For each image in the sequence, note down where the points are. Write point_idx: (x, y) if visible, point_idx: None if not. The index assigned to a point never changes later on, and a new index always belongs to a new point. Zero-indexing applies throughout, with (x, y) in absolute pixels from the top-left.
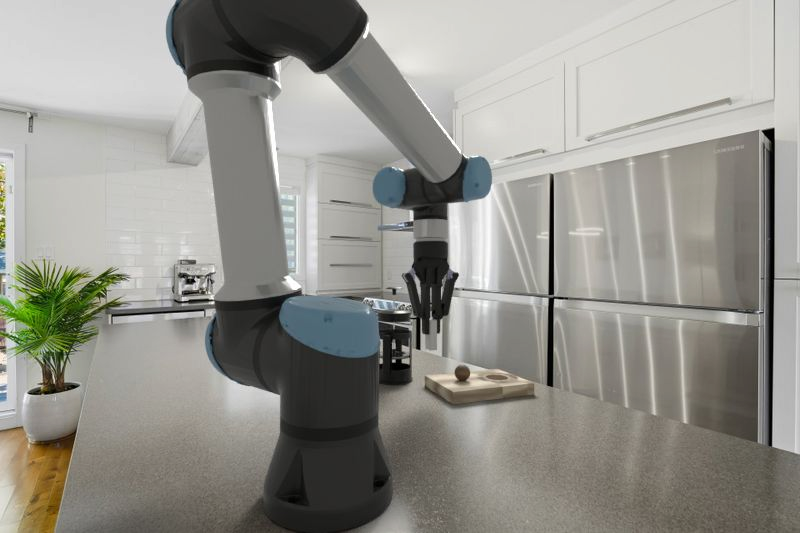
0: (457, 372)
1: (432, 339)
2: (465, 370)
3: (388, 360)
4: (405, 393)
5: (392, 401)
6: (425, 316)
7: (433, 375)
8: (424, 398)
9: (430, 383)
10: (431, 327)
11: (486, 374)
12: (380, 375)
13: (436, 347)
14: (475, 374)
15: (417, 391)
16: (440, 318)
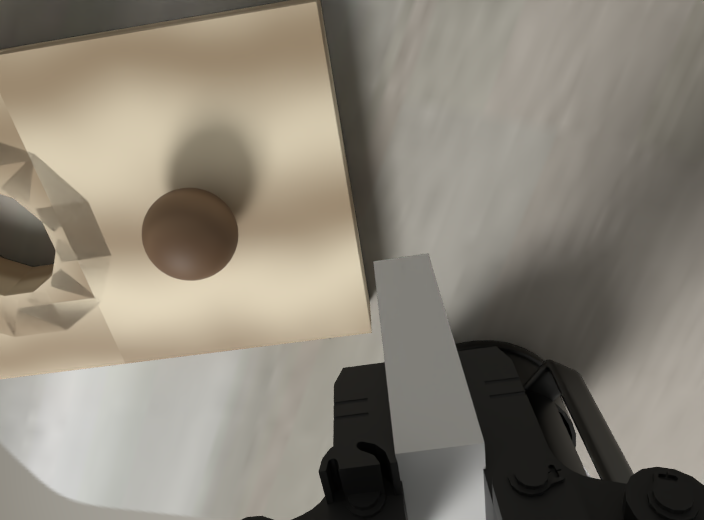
0: (225, 217)
1: (423, 305)
2: (174, 207)
3: (578, 408)
4: (495, 218)
5: (604, 109)
6: (569, 484)
7: (328, 326)
8: (433, 126)
9: (361, 263)
10: (454, 379)
11: (41, 300)
12: (558, 396)
13: (379, 270)
14: (102, 310)
15: (429, 237)
16: (355, 449)
